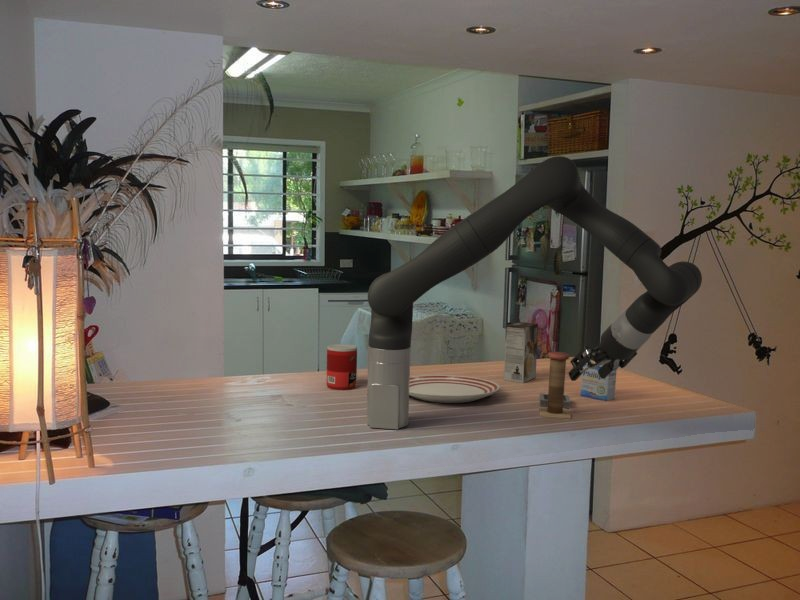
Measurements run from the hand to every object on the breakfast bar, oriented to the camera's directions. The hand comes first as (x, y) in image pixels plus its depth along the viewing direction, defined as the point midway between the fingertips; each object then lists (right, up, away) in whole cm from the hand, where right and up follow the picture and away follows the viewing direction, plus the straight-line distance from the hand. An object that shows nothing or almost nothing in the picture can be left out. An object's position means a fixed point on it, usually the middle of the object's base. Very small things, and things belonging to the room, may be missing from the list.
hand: (586, 376), depth 167 cm
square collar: (-3, -9, +21) cm, 23 cm away
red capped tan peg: (-5, -10, +11) cm, 15 cm away
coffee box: (-7, -6, +49) cm, 50 cm away
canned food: (-57, -6, +32) cm, 66 cm away
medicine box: (+10, -9, +29) cm, 32 cm away
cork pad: (-5, -10, +11) cm, 16 cm away
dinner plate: (-30, -8, +27) cm, 41 cm away
